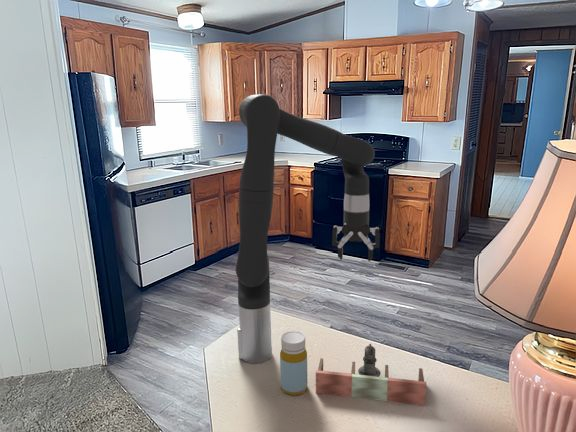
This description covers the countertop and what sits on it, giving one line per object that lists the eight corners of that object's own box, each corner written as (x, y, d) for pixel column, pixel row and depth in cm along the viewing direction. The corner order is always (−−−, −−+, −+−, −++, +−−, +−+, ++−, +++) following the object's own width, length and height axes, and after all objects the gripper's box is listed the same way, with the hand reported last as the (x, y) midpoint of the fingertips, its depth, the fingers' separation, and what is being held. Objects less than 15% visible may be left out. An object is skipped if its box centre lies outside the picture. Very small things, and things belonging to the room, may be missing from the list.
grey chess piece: (378, 377, 116) (380, 338, 113) (381, 391, 111) (383, 350, 108) (357, 376, 117) (358, 337, 114) (358, 390, 111) (359, 349, 108)
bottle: (294, 376, 118) (293, 327, 114) (312, 387, 113) (312, 336, 109) (275, 387, 113) (273, 337, 109) (294, 400, 108) (293, 347, 104)
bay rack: (315, 392, 111) (315, 372, 109) (320, 370, 120) (320, 351, 118) (425, 405, 105) (426, 384, 104) (421, 381, 114) (422, 361, 113)
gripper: (331, 210, 125) (330, 262, 129) (381, 212, 122) (379, 265, 126) (333, 204, 132) (333, 254, 136) (380, 206, 129) (378, 256, 133)
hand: (355, 259), depth 131 cm, fingers open, 8 cm apart
